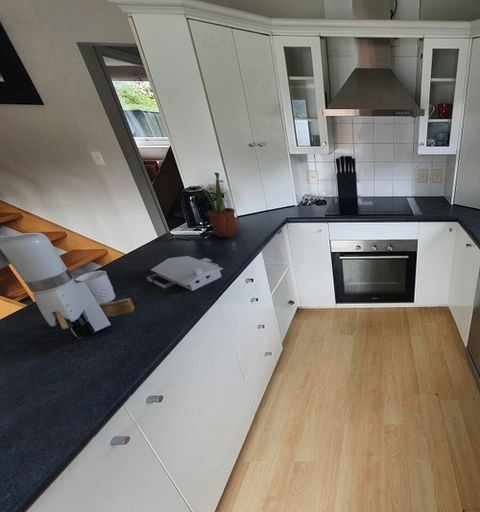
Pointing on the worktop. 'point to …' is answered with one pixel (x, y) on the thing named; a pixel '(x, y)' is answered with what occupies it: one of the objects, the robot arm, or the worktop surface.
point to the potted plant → (220, 213)
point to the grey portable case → (186, 272)
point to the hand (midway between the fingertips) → (86, 334)
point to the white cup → (98, 286)
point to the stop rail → (117, 307)
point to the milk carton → (92, 309)
